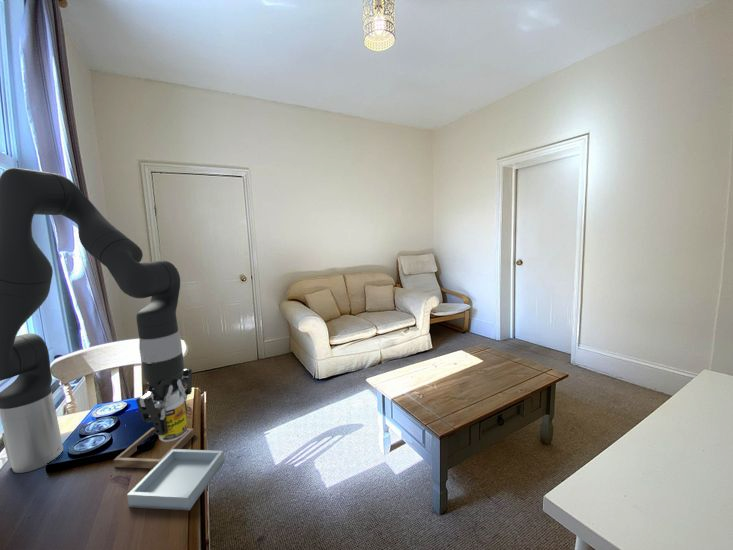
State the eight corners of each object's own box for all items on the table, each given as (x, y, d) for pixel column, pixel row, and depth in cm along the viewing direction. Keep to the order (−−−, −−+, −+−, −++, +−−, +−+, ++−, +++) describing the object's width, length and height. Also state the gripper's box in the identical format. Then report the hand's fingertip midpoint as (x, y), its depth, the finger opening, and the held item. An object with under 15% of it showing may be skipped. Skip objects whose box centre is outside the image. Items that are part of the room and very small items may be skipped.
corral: (114, 466, 77) (113, 459, 77) (153, 433, 90) (152, 427, 89) (161, 468, 76) (160, 461, 76) (194, 434, 89) (193, 428, 88)
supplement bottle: (162, 447, 66) (155, 402, 65) (156, 435, 70) (150, 393, 69) (191, 434, 70) (185, 392, 68) (184, 423, 74) (179, 383, 72)
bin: (129, 507, 66) (126, 494, 65) (174, 459, 79) (172, 449, 79) (189, 510, 65) (187, 497, 64) (224, 461, 78) (223, 450, 77)
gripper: (169, 341, 74) (178, 406, 77) (116, 368, 60) (130, 446, 63) (199, 341, 74) (207, 406, 76) (152, 368, 60) (164, 448, 62)
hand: (172, 424), depth 70 cm, fingers closed on supplement bottle, 5 cm apart
